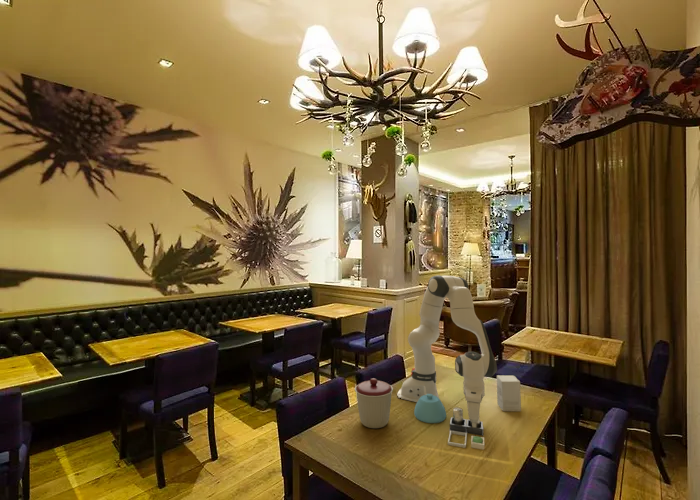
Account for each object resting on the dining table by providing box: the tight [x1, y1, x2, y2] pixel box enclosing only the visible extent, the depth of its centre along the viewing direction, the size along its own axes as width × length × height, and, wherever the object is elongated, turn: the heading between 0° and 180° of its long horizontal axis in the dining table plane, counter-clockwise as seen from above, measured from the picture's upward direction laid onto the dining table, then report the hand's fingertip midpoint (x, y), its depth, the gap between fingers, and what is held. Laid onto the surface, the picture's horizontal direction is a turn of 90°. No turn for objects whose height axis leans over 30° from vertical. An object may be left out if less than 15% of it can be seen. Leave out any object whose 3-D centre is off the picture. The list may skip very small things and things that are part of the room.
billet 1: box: [452, 406, 464, 425], centre depth 159 cm, size 4×4×8 cm
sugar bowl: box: [413, 394, 447, 424], centre depth 170 cm, size 15×15×12 cm
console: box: [470, 435, 485, 450], centre depth 145 cm, size 5×6×3 cm
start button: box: [473, 435, 483, 444], centre depth 145 cm, size 3×3×3 cm
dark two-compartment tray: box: [449, 416, 484, 437], centre depth 158 cm, size 14×8×4 cm, turn 69°
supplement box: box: [496, 374, 522, 412], centre depth 180 cm, size 9×9×15 cm
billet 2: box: [469, 417, 481, 428], centre depth 156 cm, size 4×4×8 cm
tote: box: [447, 429, 468, 449], centre depth 149 cm, size 7×10×2 cm
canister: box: [354, 377, 394, 429], centre depth 167 cm, size 18×18×21 cm
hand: (474, 421), depth 157 cm, fingers open, 8 cm apart
